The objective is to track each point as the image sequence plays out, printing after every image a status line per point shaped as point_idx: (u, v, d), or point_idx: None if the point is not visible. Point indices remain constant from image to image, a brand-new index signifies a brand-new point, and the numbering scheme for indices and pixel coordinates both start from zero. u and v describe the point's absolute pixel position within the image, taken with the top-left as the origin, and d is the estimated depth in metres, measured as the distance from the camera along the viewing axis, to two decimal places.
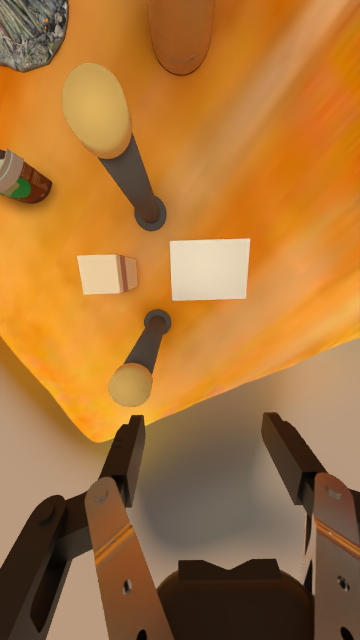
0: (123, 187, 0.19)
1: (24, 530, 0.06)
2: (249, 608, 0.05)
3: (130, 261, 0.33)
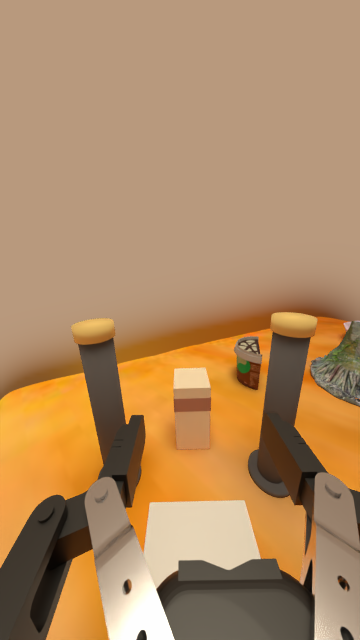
0: None
1: (24, 530, 0.06)
2: (249, 608, 0.05)
3: (206, 428, 0.28)
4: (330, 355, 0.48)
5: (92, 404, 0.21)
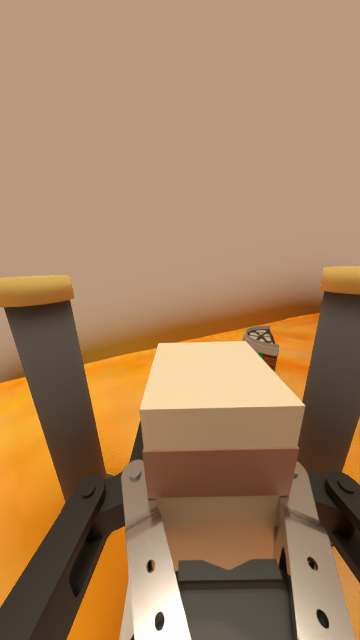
0: (311, 363, 0.14)
1: (71, 499, 0.07)
2: (249, 608, 0.05)
3: (263, 547, 0.08)
4: None
5: (37, 411, 0.13)
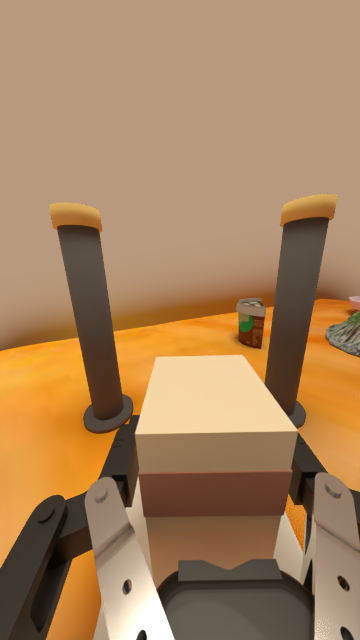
0: None
1: (24, 530, 0.06)
2: (249, 608, 0.05)
3: None
4: (350, 317, 0.44)
5: (75, 311, 0.18)
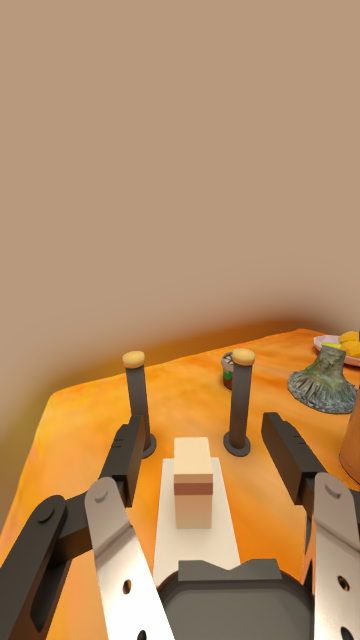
0: (232, 383, 0.38)
1: (24, 530, 0.06)
2: (249, 608, 0.05)
3: (207, 510, 0.27)
4: (305, 369, 0.62)
5: (131, 400, 0.37)
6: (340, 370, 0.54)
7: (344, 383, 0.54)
